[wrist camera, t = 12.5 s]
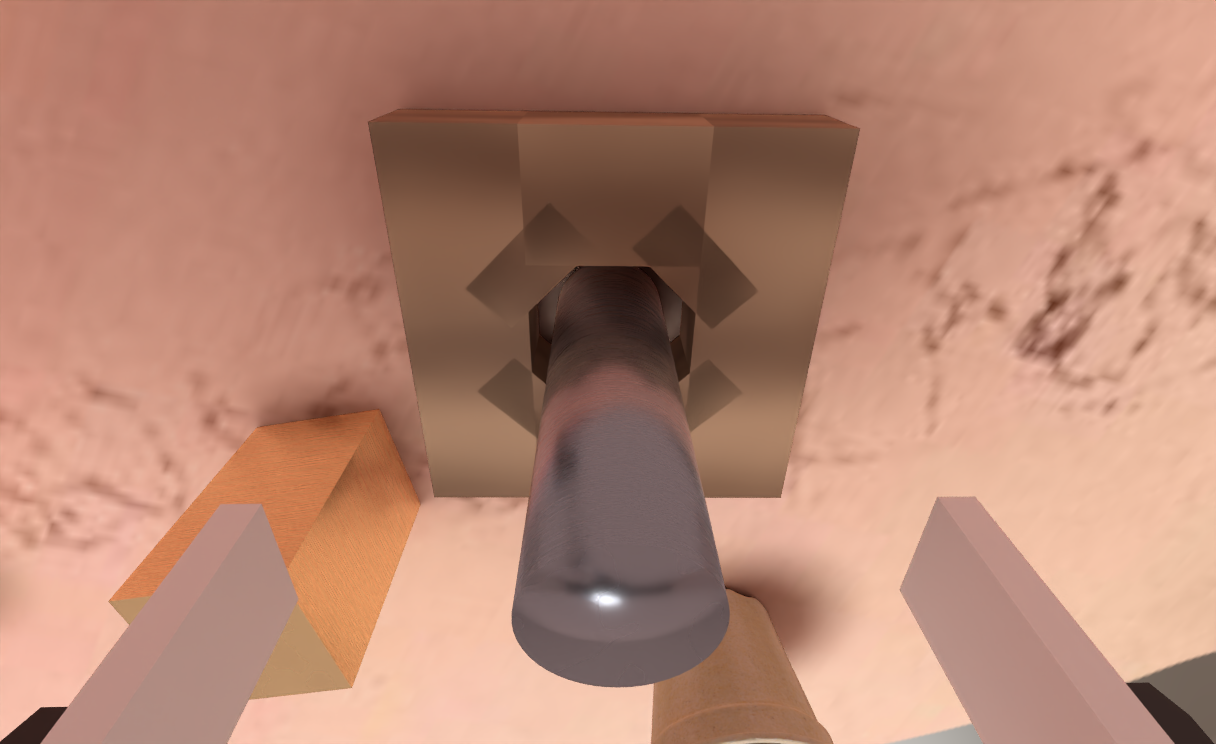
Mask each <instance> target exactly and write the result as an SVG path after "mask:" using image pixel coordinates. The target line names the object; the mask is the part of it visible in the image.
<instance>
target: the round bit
mask: <svg viewBox="0 0 1216 744" xmlns="http://www.w3.org/2000/svg"><path fill="white" fill-rule="evenodd" d="M729 618H730V610H729V603H728V598H727V594H726V589H725V585H724V580H723V576H722V572H721V567H720V563H719V558H718V554H717V550H716V545H715V541H714V536H713V532H712V527H711V523H710V519H709V514H708V510H707V505H706V501H705V496H704V492H703V488H702V483H701V479H700V474H699V470H698V465H697V461H696V457H695V452H694V448H693V443H692V439H691V434H690V430H689V426H688V421H687V417H686V412H685V408H684V403H683V399H682V395H681V390H680V386H679V381H678V377H677V373H676V368H675V364H674V359H673V355H672V350H671V346H670V342H669V337H668V333H667V328H666V324H665V319H664V315H663V311H662V306H661V302H660V297H659V294H658V291H657V289H656V286H655V285H654V283H653V281H652V280H651V279H650V278H649V276H648V275H647V274H646V273H644V272H643V271H642V270H641V269H639V268H638V267H636V266H583V267H581V268H579V269H578V270H577V271H575V272H574V273H573V274H572V275H571V276H570V277H569V278H568V279H567V281H566V282H565V284H564V285H563V287H562V289H561V292H560V295H559V299H558V305H557V311H556V318H555V325H554V332H553V338H552V345H551V352H550V359H549V365H548V372H547V379H546V386H545V392H544V399H543V406H542V413H541V419H540V426H539V433H538V440H537V446H536V453H535V460H534V467H533V473H532V480H531V487H530V494H529V500H528V507H527V514H526V521H525V528H524V534H523V541H522V548H521V555H520V561H519V568H518V575H517V582H516V588H515V595H514V602H513V609H512V627H513V631H514V634H515V637H516V639H517V641H518V643H519V644H520V646H521V648H522V649H523V650H524V651H525V652H526V654H527V655H528V656H529V657H530V658H531V659H532V660H534V661H535V662H536V663H537V664H539V665H540V666H542V667H543V668H545V669H546V670H548V671H550V672H552V673H554V674H556V675H558V676H561V677H563V678H566V679H568V680H572V681H575V682H579V683H583V684H588V685H593V686H602V687H633V686H641V685H647V684H652V683H657V682H661V681H664V680H667V679H670V678H673V677H675V676H678V675H681V674H682V673H684V672H686V671H688V670H690V669H692V668H694V667H695V666H697V665H698V664H700V663H701V662H703V661H704V660H705V659H706V658H708V657H709V656H710V655H711V654H712V653H713V652H714V651H715V650H716V648H717V647H718V646H719V644H720V643H721V641H722V640H723V638H724V636H725V634H726V632H727V628H728V625H729Z"/></svg>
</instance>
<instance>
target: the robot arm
mask: <svg viewBox="0 0 1216 744" xmlns="http://www.w3.org/2000/svg"><path fill="white" fill-rule="evenodd" d="M900 591H901V593H902V595H903V597H904V599H905V601H906V602H907V604H908V606H909V608H910V610H911V612H912V613H913V615H914V617H915V619H916V621H917V623H918V624H919V626H920V628H921V630H922V632H923V634H924V635H925V637H926V639H927V641H928V643H929V645H930V647H931V648H932V650H933V652H934V654H935V656H936V658H937V659H938V661H939V663H940V665H941V667H942V669H943V670H944V672H945V674H946V676H947V678H948V680H949V681H950V683H951V685H952V687H953V689H954V691H955V692H956V694H957V696H958V698H959V700H960V702H961V703H962V705H963V707H964V709H965V711H966V713H967V714H968V716H969V718H970V720H971V722H972V724H973V725H974V727H975V729H976V731H977V733H978V735H979V737H980V738H981V740H982V742H983V744H1214V743H1213V742H1212V741H1211V740H1210V738H1209V737H1208V736H1207V735H1206V734H1205V733H1204V732H1203V730H1202V729H1201V728H1200V727H1199V726H1198V724H1197V723H1196V722H1195V721H1194V720H1193V719H1192V717H1191V716H1190V715H1188V714H1187V713H1186V712H1185V711H1183V710H1182V709H1181V708H1180V707H1178V706H1177V705H1176V704H1175V703H1173V702H1172V701H1171V700H1170V699H1168V698H1167V697H1166V696H1164V695H1163V694H1162V693H1161V692H1159V691H1158V690H1157V689H1156V688H1155V687H1153V686H1152V685H1151V684H1150V683H1125V682H1124V681H1123V679H1122V678H1121V677H1120V676H1119V674H1118V673H1117V672H1116V671H1115V669H1114V668H1113V667H1112V666H1111V664H1110V663H1109V662H1108V661H1107V659H1106V658H1105V657H1104V656H1103V654H1102V653H1101V652H1100V651H1099V650H1098V648H1097V647H1096V646H1095V645H1094V643H1093V642H1092V641H1091V640H1090V638H1089V637H1088V636H1087V635H1086V633H1085V632H1084V631H1083V630H1082V628H1081V627H1080V626H1079V625H1078V624H1077V622H1076V621H1075V620H1074V619H1073V617H1072V616H1071V615H1070V614H1069V612H1068V611H1067V610H1066V609H1065V607H1064V606H1063V605H1062V604H1061V602H1060V601H1059V600H1058V599H1057V597H1056V596H1055V595H1054V594H1053V593H1052V591H1051V590H1050V589H1049V588H1048V586H1047V585H1046V584H1045V583H1044V581H1043V580H1042V579H1041V578H1040V576H1039V575H1038V574H1037V573H1036V571H1035V570H1034V569H1033V568H1032V567H1031V565H1030V564H1029V563H1028V562H1027V560H1026V559H1025V558H1024V557H1023V555H1022V554H1021V553H1020V552H1019V550H1018V549H1017V548H1016V547H1015V545H1014V544H1013V543H1012V542H1011V541H1010V539H1009V538H1008V537H1007V536H1006V534H1005V533H1004V532H1003V531H1002V529H1001V528H1000V527H999V526H998V524H997V523H996V522H995V521H994V519H993V518H992V517H991V516H990V514H989V513H988V512H987V511H986V510H985V508H984V507H983V506H982V505H981V503H980V502H979V501H978V500H977V498H976V497H937V499H936V501H935V504H934V506H933V509H932V511H931V514H930V516H929V519H928V521H927V524H926V526H925V528H924V531H923V533H922V536H921V538H920V541H919V543H918V546H917V548H916V551H915V553H914V556H913V558H912V560H911V563H910V565H909V568H908V570H907V573H906V575H905V578H904V580H903V583H902V585H901V588H900ZM297 601H298V596H297V594H296V591H295V589H294V586H293V583H292V581H291V578H290V576H289V573H288V571H287V568H286V565H285V563H284V560H283V558H282V555H281V553H280V550H279V547H278V545H277V542H276V540H275V537H274V535H273V532H272V529H271V527H270V524H269V522H268V519H267V517H266V514H265V511H264V509H263V506H262V504H220V505H219V507H218V508H217V509H216V511H215V512H214V513H213V515H212V516H211V517H210V519H209V520H208V521H207V523H206V524H205V525H204V527H203V528H202V529H201V531H200V532H199V533H198V535H197V536H196V537H195V539H194V540H193V541H192V543H191V544H190V545H189V547H188V548H187V549H186V551H185V552H184V553H183V555H182V556H181V557H180V559H179V560H178V561H177V563H176V564H175V565H174V567H173V568H172V569H171V571H170V572H169V573H168V575H167V576H166V577H165V579H164V580H163V581H162V583H161V584H160V585H159V587H158V588H157V589H156V591H155V592H154V593H153V595H152V596H151V597H150V599H149V600H148V601H147V603H146V604H145V605H144V607H143V608H142V609H141V611H140V612H139V613H138V615H137V616H136V617H135V619H134V620H133V621H132V623H131V624H130V625H129V627H128V628H127V629H126V631H125V632H124V633H123V634H122V636H121V637H120V638H119V640H118V641H117V642H116V644H115V645H114V646H113V648H112V649H111V650H110V652H109V653H108V654H107V656H106V657H105V658H104V660H103V661H102V662H101V664H100V665H99V666H98V668H97V669H96V670H95V672H94V673H93V674H92V676H91V677H90V678H89V680H88V681H87V682H86V684H85V685H84V686H83V688H82V689H81V690H80V692H79V693H78V694H77V696H76V697H75V698H74V700H73V701H72V702H71V704H70V705H69V706H68V707H41V708H40V709H39V710H37V711H36V712H35V713H34V714H33V715H31V716H30V717H29V718H28V719H27V720H25V721H24V722H23V723H22V724H21V725H19V726H18V727H17V728H16V729H15V730H14V731H12V732H11V733H10V734H9V735H8V736H6V737H5V738H4V739H3V740H2V741H0V744H227V742H228V740H229V738H230V736H231V734H232V732H233V730H234V728H235V726H236V724H237V722H238V720H239V718H240V716H241V714H242V712H243V710H244V708H245V706H246V704H247V702H248V700H249V698H250V696H251V694H252V692H253V690H254V688H255V686H256V684H257V682H258V680H259V678H260V676H261V674H262V672H263V670H264V668H265V666H266V664H267V662H268V660H269V658H270V656H271V654H272V652H273V650H274V648H275V646H276V643H277V641H278V639H279V637H280V635H281V633H282V631H283V629H284V627H285V625H286V623H287V621H288V619H289V617H290V615H291V613H292V611H293V609H294V607H295V605H296V603H297Z"/></svg>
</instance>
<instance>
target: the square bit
mask: <svg viewBox="0 0 1216 744" xmlns="http://www.w3.org/2000/svg"><path fill="white" fill-rule="evenodd" d="M220 504H262V506H263V509H264V511H265V514H266V517H267V519H268V522H269V524H270V527H271V529H272V532H273V535H274V537H275V540H276V542H277V545H278V547H279V550H280V553H281V555H282V558H283V560H284V563H285V565H286V568H287V571H288V573H289V576H290V578H291V581H292V583H293V586H294V589H295V591H296V594H297V596H298V601H297V603H296V605H295V607H294V609H293V611H292V613H291V615H290V617H289V619H288V621H287V623H286V625H285V627H284V629H283V631H282V633H281V635H280V637H279V639H278V641H277V643H276V646H275V648H274V650H273V652H272V654H271V656H270V658H269V660H268V662H267V664H266V666H265V668H264V670H263V672H262V674H261V676H260V678H259V680H258V682H257V684H256V686H255V688H254V690H253V692H252V694H251V696H250V698H249V700H251V699H260V698H268V697H277V696H286V695H295V694H304V693H312V692H321V691H330V690H339V689H347V688H352V686H353V683H354V681H355V678H356V675H357V673H358V670H359V667H360V665H361V662H362V659H363V657H364V654H365V651H366V649H367V646H368V643H369V641H370V638H371V635H372V633H373V630H374V627H375V625H376V622H377V619H378V617H379V614H380V611H381V609H382V606H383V603H384V601H385V598H386V595H387V593H388V590H389V587H390V585H391V582H392V579H393V577H394V574H395V571H396V569H397V566H398V563H399V561H400V558H401V555H402V552H403V550H404V547H405V544H406V542H407V539H408V536H409V534H410V531H411V528H412V526H413V523H414V520H415V518H416V515H417V512H418V510H419V507H420V502H419V500H418V497H417V495H416V493H415V490H414V488H413V486H412V484H411V481H410V479H409V477H408V474H407V472H406V470H405V467H404V465H403V463H402V460H401V458H400V456H399V454H398V451H397V449H396V447H395V444H394V442H393V440H392V437H391V435H390V433H389V431H388V428H387V426H386V424H385V421H384V419H383V417H382V414H381V412H380V410H379V409H377V410H370V411H363V412H356V413H350V414H343V415H336V416H329V417H323V418H316V419H309V420H302V421H296V422H289V423H282V424H275V425H269V426H262V427H257V428H256V429H255V431H254V432H253V433H252V434H251V435H250V436H249V438H248V439H247V440H246V441H245V442H244V443H243V445H242V446H241V447H240V448H239V449H238V450H237V452H236V453H235V454H234V455H233V456H232V457H231V459H230V460H229V461H228V462H227V463H226V464H225V466H224V467H223V468H222V469H221V470H220V471H219V473H218V474H217V475H216V476H215V477H214V478H213V480H212V481H211V482H210V483H209V484H208V485H207V487H206V488H205V489H204V490H203V491H202V493H201V494H200V495H199V496H198V497H197V498H196V500H195V501H194V502H193V503H192V504H191V505H190V507H189V508H188V509H187V510H186V511H185V512H184V514H183V515H182V516H181V517H180V518H179V519H178V521H177V522H176V523H175V524H174V525H173V526H172V528H171V529H170V530H169V531H168V532H167V533H166V535H165V536H164V537H163V538H162V539H161V540H160V542H159V543H158V544H157V545H156V546H155V547H154V549H153V550H152V551H151V552H150V553H149V554H148V556H147V557H146V558H145V559H144V560H143V561H142V563H141V564H140V565H139V566H138V567H137V568H136V570H135V571H134V572H133V573H132V574H131V575H130V577H129V578H128V579H127V580H126V581H125V583H124V584H123V585H122V586H121V587H120V588H119V590H118V591H117V592H116V593H115V594H114V595H113V597H112V598H111V599H110V600H109V601H108V602H109V603H110V604H111V605H112V606H113V607H114V608H115V609H116V611H117V612H118V613H119V614H120V615H121V616H122V617H123V618H124V620H125V621H126V622H127V623H128V624H129V625H130V624H131V623H132V621H133V620H134V619H135V617H136V616H137V615H138V613H139V612H140V611H141V609H142V608H143V607H144V605H145V604H146V603H147V601H148V600H149V599H150V597H151V596H152V595H153V593H154V592H155V591H156V589H157V588H158V587H159V585H160V584H161V583H162V581H163V580H164V579H165V577H166V576H167V575H168V573H169V572H170V571H171V569H172V568H173V567H174V565H175V564H176V563H177V561H178V560H179V559H180V557H181V556H182V555H183V553H184V552H185V551H186V549H187V548H188V547H189V545H190V544H191V543H192V541H193V540H194V539H195V537H196V536H197V535H198V533H199V532H200V531H201V529H202V528H203V527H204V525H205V524H206V523H207V521H208V520H209V519H210V517H211V516H212V515H213V513H214V512H215V511H216V509H217V508H218V507H219V505H220Z"/></svg>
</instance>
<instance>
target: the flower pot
mask: <svg viewBox="0 0 1216 744" xmlns="http://www.w3.org/2000/svg"><path fill="white" fill-rule="evenodd" d="M726 594H727V598H728V603H729V610H730V618H729V625H728V628H727V632H726V634H725V636H724V638H723V640H722V641H721V643H720V644H719V646H718V647H717V648H716V650H715V651H714V652H713V653H712V654H711V655H710V656H709V657H708V658H706V659H705V660H704V661H703V662H701V663H700V664H698V665H697V666H695V667H694V668H692V669H690V670H688V671H686V672H684V673H682V674H681V675H678V676H675V677H673V678H670V679H667V680H664V681H661V682H657V683H654V693H653V715H652V737H651V744H833V741H832V739H831V737H830V735H829V733H828V732H827V730H826V729H825V728H824V727H823V726H822V725H821V724H820V723H819V722H818V721H817V719H816V717H815V715H814V713H813V710H812V708H811V706H810V704H809V702H808V700H807V698H806V695H805V693H804V691H803V689H802V687H801V685H800V683H799V681H798V679H797V676H796V674H795V672H794V670H793V668H792V666H791V664H790V662H789V660H788V657H787V655H786V653H785V651H784V649H783V647H782V645H781V642H780V640H779V638H778V636H777V633H776V631H775V629H774V627H773V625H772V622H771V620H770V618H769V615H768V612H767V611H766V609H765V608H764V606H763V605H762V604H761V603H760V602H759V601H758V600H757V599H755V598H754V597H746V596H743V595H741V594H738V593H736V592H734V591H732V590H730V589H726Z"/></svg>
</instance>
